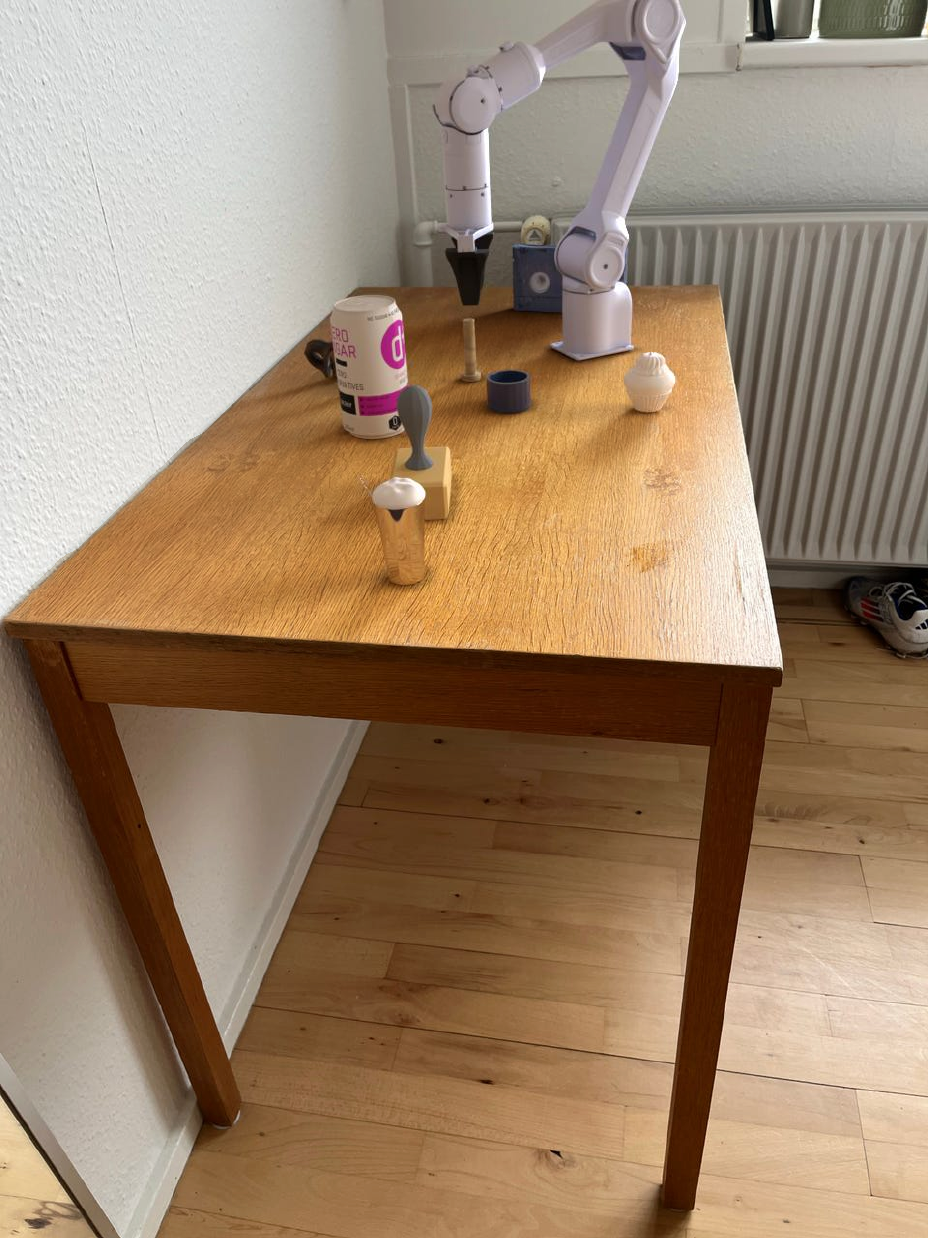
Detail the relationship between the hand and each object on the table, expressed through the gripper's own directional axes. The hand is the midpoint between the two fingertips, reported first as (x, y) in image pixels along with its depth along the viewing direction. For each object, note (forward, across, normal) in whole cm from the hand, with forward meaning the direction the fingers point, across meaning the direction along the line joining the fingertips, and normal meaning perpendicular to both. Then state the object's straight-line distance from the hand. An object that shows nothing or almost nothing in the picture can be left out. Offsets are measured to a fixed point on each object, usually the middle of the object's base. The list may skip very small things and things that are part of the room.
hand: (472, 297), depth 127 cm
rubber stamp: (+10, +41, -3) cm, 42 cm away
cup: (+10, +14, +5) cm, 18 cm away
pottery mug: (+10, +4, -17) cm, 20 cm away
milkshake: (+10, +57, -3) cm, 58 cm away
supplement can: (+10, +21, -11) cm, 26 cm away
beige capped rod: (+10, +4, 0) cm, 11 cm away
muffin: (+10, +16, +22) cm, 29 cm away
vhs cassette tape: (+10, -29, +13) cm, 33 cm away
